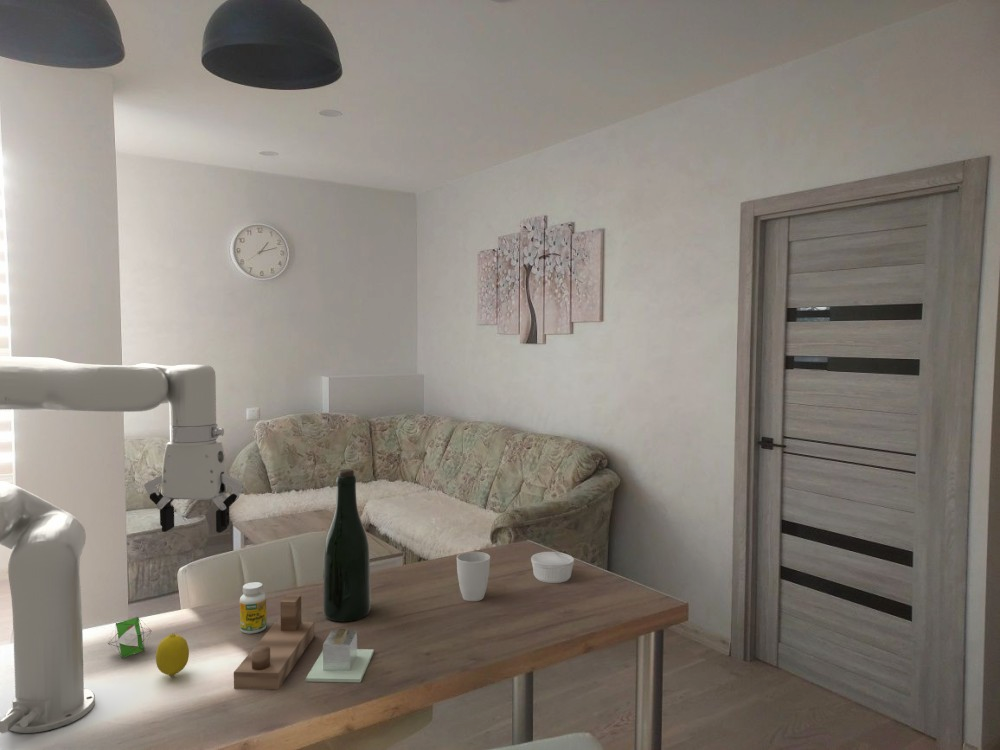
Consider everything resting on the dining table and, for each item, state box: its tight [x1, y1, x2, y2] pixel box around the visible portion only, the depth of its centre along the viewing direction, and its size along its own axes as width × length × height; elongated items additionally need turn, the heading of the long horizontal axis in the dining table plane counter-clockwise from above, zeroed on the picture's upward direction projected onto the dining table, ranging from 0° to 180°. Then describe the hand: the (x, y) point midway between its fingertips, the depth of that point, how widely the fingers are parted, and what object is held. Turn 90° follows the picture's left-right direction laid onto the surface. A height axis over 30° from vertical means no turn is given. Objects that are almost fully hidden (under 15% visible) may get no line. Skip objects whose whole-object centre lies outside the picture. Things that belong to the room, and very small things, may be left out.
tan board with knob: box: [233, 594, 315, 690], centre depth 134 cm, size 22×8×9 cm, turn 179°
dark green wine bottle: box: [322, 468, 371, 622], centre depth 156 cm, size 10×10×33 cm
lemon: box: [155, 633, 190, 678], centre depth 128 cm, size 6×6×8 cm
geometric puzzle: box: [107, 616, 152, 659], centre depth 137 cm, size 7×7×8 cm
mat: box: [305, 648, 375, 683], centre depth 132 cm, size 12×10×1 cm
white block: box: [322, 628, 358, 671], centre depth 132 cm, size 6×5×6 cm
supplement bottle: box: [239, 581, 268, 635], centre depth 148 cm, size 5×5×10 cm
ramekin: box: [530, 551, 575, 584], centre depth 182 cm, size 11×11×5 cm
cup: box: [456, 551, 491, 602], centre depth 167 cm, size 8×8×10 cm
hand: (195, 530), depth 123 cm, fingers open, 9 cm apart
